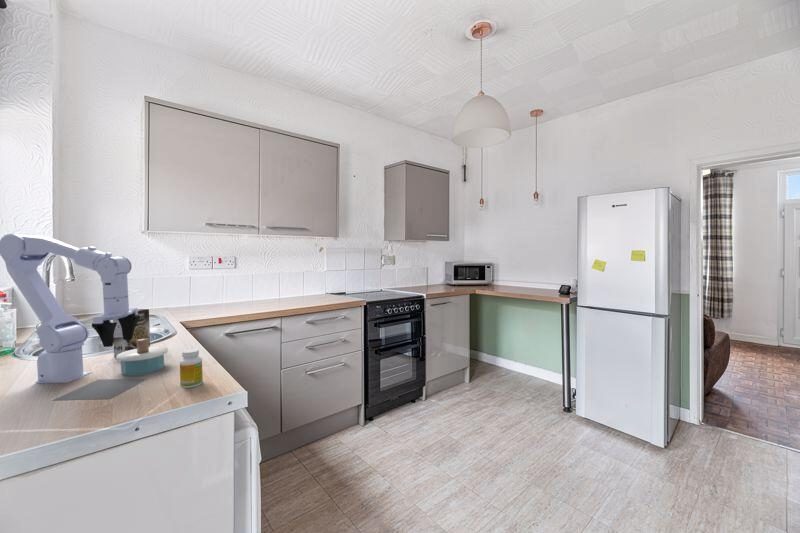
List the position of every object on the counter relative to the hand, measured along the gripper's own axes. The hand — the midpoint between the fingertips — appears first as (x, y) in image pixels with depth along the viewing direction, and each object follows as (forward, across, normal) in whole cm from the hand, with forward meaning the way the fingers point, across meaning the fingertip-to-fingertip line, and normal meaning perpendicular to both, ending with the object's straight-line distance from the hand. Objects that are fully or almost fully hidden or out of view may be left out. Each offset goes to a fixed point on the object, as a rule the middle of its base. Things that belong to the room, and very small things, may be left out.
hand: (118, 342), depth 103 cm
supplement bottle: (+11, -7, -25) cm, 28 cm away
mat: (+10, -10, -3) cm, 14 cm away
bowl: (+10, +6, -3) cm, 12 cm away
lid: (+5, +6, -3) cm, 9 cm away
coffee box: (+10, +24, +13) cm, 29 cm away
